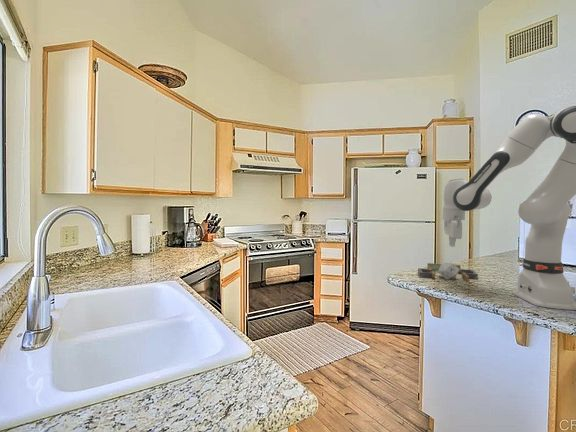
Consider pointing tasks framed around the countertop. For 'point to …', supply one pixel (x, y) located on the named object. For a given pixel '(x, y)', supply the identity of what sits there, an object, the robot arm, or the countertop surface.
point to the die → (448, 270)
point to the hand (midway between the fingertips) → (452, 246)
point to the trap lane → (435, 267)
